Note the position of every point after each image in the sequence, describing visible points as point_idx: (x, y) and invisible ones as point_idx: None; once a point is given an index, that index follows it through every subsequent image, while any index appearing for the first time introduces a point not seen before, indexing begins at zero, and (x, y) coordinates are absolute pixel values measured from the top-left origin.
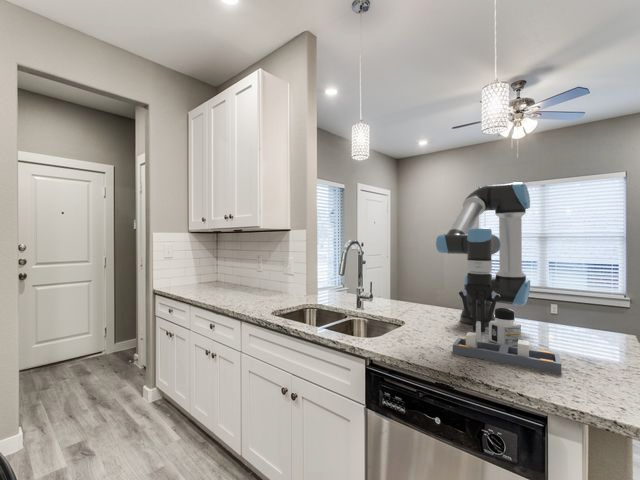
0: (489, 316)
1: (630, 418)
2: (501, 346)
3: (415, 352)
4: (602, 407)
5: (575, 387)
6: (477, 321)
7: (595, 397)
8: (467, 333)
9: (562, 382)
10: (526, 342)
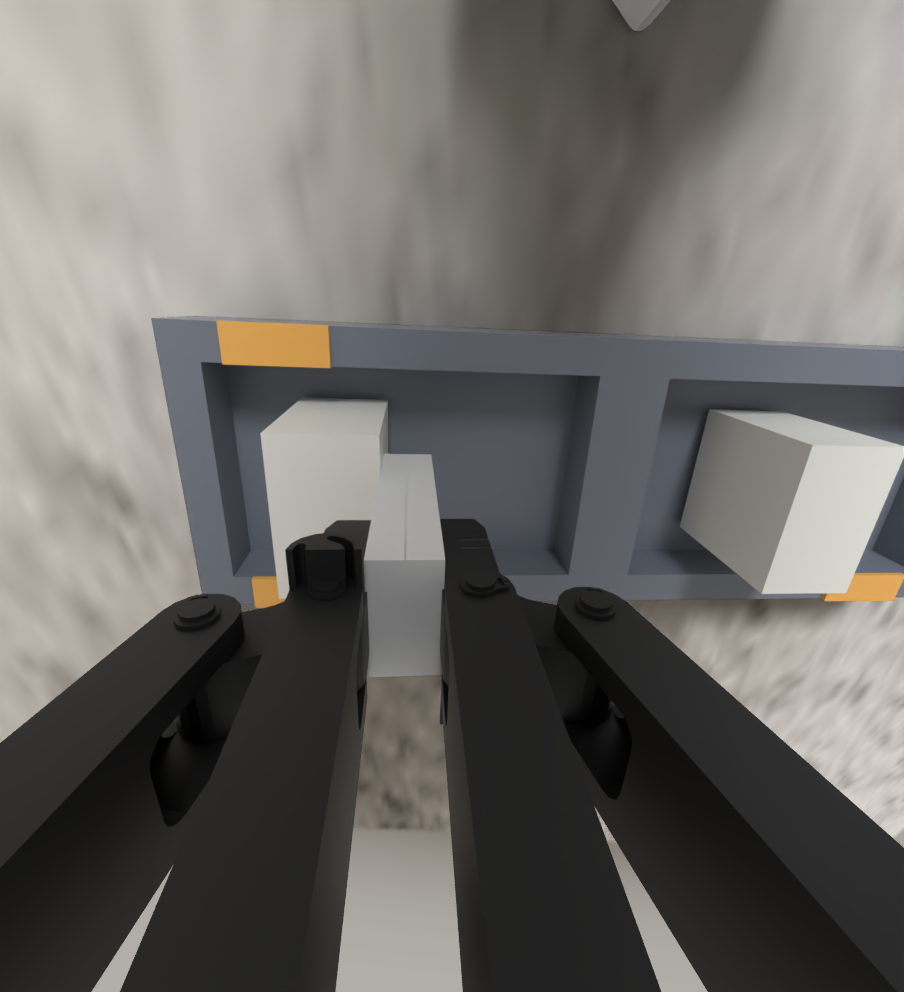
0: (619, 789)
1: (900, 824)
2: (605, 407)
3: (6, 682)
4: (856, 800)
5: (851, 689)
6: (374, 581)
7: (880, 740)
8: (273, 514)
9: (819, 665)
10: (860, 511)
